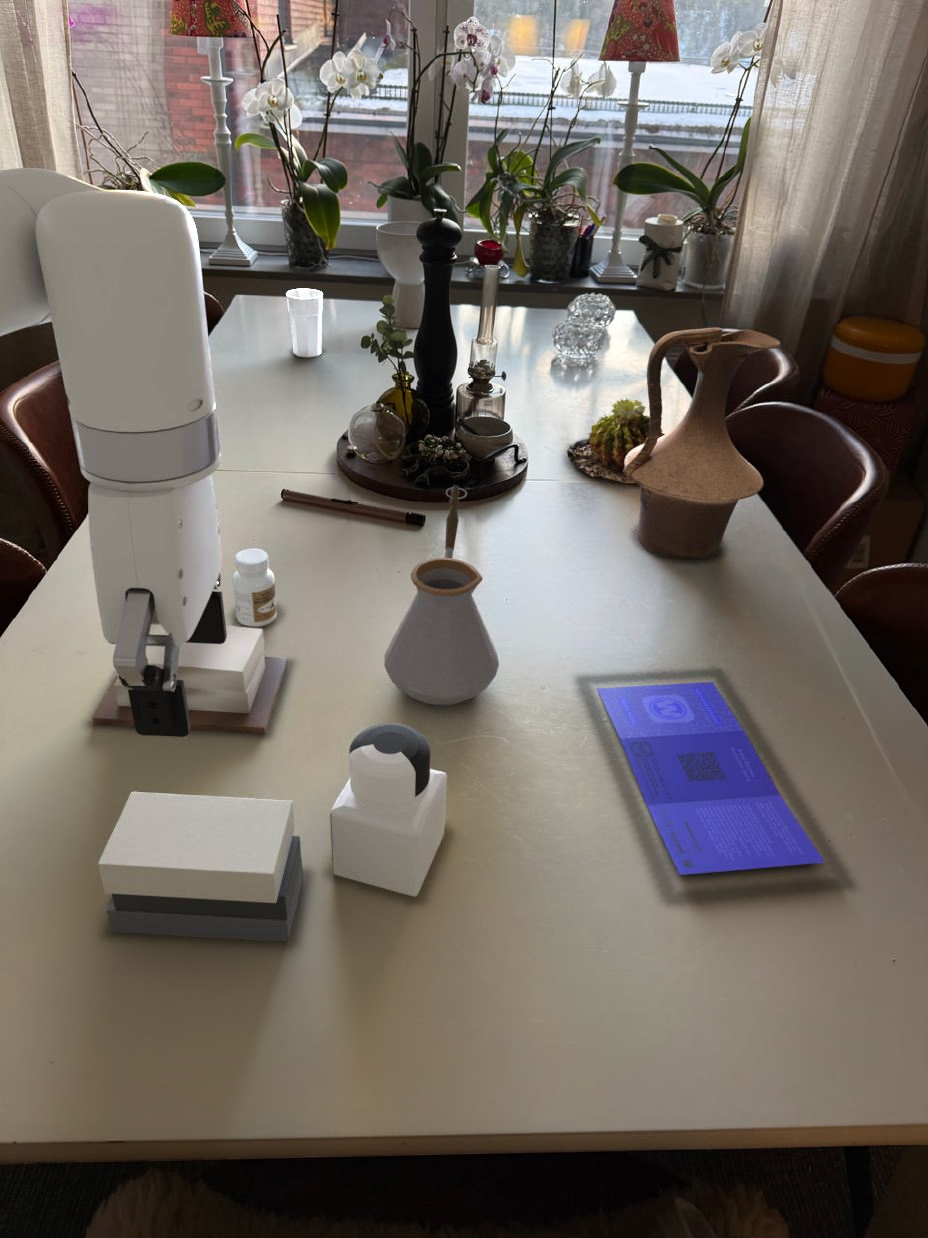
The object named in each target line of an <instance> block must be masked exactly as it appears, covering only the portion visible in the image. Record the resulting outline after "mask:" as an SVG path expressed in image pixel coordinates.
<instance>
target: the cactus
mask: <svg viewBox="0 0 928 1238" xmlns="http://www.w3.org/2000/svg"><path fill="white" fill-rule="evenodd" d="M611 407H612V408H613V409H611V410H610V412H611V413H612V414H609V415H607V414H606V415H605V414H604V413H603V416H604V417H603V416H598V418H599V420H596V423H595V424H593V425H591V428H590V429H591V431H590V432H588V435H589V437H588V438H587V439H582V440H578V441H576V442H575V443H574V444H570V445H569V447H568V448H567V450H566V454H567V457H568V460H570V463H571V464H572V465H576V467H577V469H579V470H580V471H581V472H583V473H584V474H585V475H589V476H592V477H602V478H603V479H609V480H612V481H616V482H620V483H624V484H637V483H636V482H635V481H633V480H631V479H629V478H628V477H626V476H625V474H624V472H623V470H624V468H625V466H624V460H625V457H626V456H627V454H628V453H629V452H630V451H631V450H632V449H634V448H636V447H638V446H640V445H643V444H645V441H646V439H647V437H648V432H649V424H650V415H644V413H645V410H646V408H647V407H646V406H644V404H643V402H642V401H639V400H638V399H635V400H630V399H628V398H627V397H625V398H624V399H623V398H621V399H620V400H616V402H615V403H614V404H611ZM663 431H664V429H663V428H661V429H660V433H659V437H658V438H660V437H662V436H664V435H666V433H663Z"/></svg>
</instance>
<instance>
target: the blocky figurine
mask: <svg viewBox="0 0 928 1238" xmlns="http://www.w3.org/2000/svg"><path fill="white" fill-rule="evenodd" d="M348 750H349V751H348V753H349V779H348V780H347V782H346V784H345V785H344V787H343V788H342V791H340V794H339V795H338V797H337V799H336V800H335V802H334V803H333V806H332V807H331V809H330V812H329V818H330V839H331V840H330V841H331V859H332V873H333V875H335V876H338V877H341V878H344V879H348V880H352V881H355V882H359V883H363V884H367V885H369V886H373V887H377V888H381V889H384V890H388V891H392V892H396V893H399V894H403V895H405V896H406V895H407V896H410V897H417V896H418V895H419V893H420V891H421V889H422V886H423V884H424V882H425V879H426V877H427V875H428V873H429V870H430V868H431V865H432V863H433V861H434V858H435V857H436V854H437V852H438V849H439V847H440V845H441V842H442V840H443V838H444V836H445V823H446V822H445V821H446V802H447V801H446V799H447V784H448V783H447V782H448V781H447V779H448V776H447V773H446V772H444V771H440V770H438V769H437V770H436V769H432V768H431V757H432V756H431V753H432V751H431V750H432V749H431V745H430V743H429V740H428V739H427V738H426V737H425V735H424V734H422V733H421V732H420V731H419V730H417V729H415V727H411V726H409V725H406V724H403V723H397V722H385V723H378V724H374V725H372V726H370V727H367V728H365V729H364V730H362V731H361V732H359V734H357V735H356V736H355V738H354V739H353V740H352V742H351V744H350V746H349V749H348Z"/></svg>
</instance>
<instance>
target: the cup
mask: <svg viewBox="0 0 928 1238" xmlns="http://www.w3.org/2000/svg"><path fill="white" fill-rule="evenodd" d="M285 295H286V303H287V311H288V314H289V325H290V333H291V340H292V341H291V343H292V352H293V354H294V355H296V356H297V357H301V358H314V357H319V356H320V355H321V354H322V323H323V310H324V307H323V305H324V304H323V301H324V296H323V295H324V293H323V292H322V291H320V290H317V289H311V288H296V289H291V290H288V291H287V292H286V293H285Z"/></svg>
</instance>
